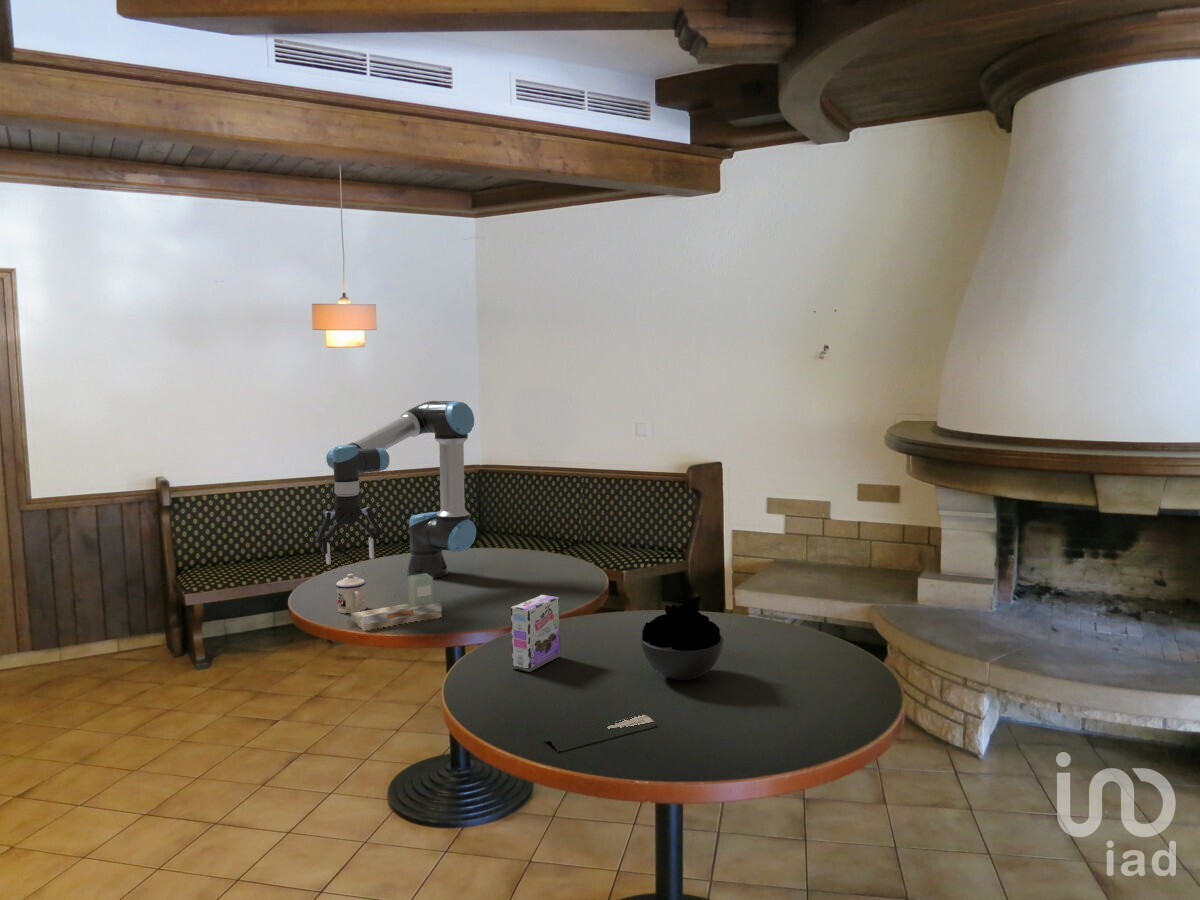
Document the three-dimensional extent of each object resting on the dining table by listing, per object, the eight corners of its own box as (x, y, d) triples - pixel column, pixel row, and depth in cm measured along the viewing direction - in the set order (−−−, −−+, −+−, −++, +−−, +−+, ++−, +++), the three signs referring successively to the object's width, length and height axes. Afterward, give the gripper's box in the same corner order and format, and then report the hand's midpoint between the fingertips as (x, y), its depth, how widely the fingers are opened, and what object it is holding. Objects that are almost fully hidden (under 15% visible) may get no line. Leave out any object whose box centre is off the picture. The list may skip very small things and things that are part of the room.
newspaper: (556, 756, 167) (556, 748, 167) (541, 743, 173) (541, 734, 173) (656, 730, 179) (656, 722, 178) (639, 718, 185) (638, 710, 185)
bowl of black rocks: (665, 699, 193) (664, 618, 191) (627, 671, 211) (626, 597, 210) (739, 684, 201) (739, 607, 199) (697, 658, 219) (696, 587, 217)
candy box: (530, 673, 211) (528, 609, 209) (511, 669, 214) (509, 606, 212) (561, 657, 222) (560, 596, 221) (543, 653, 226) (541, 593, 224)
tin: (427, 604, 268) (426, 573, 267) (434, 608, 263) (432, 577, 262) (409, 607, 265) (407, 575, 264) (415, 611, 260) (414, 579, 259)
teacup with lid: (333, 609, 272) (331, 573, 271) (361, 604, 277) (359, 569, 275) (344, 618, 262) (342, 581, 261) (373, 612, 267) (371, 576, 265)
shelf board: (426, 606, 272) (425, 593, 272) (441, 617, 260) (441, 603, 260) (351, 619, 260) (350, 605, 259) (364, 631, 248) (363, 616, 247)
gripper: (382, 489, 275) (385, 553, 277) (303, 496, 262) (307, 563, 264) (389, 492, 269) (392, 557, 271) (308, 499, 256) (312, 568, 258)
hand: (350, 560), depth 267 cm, fingers open, 13 cm apart
